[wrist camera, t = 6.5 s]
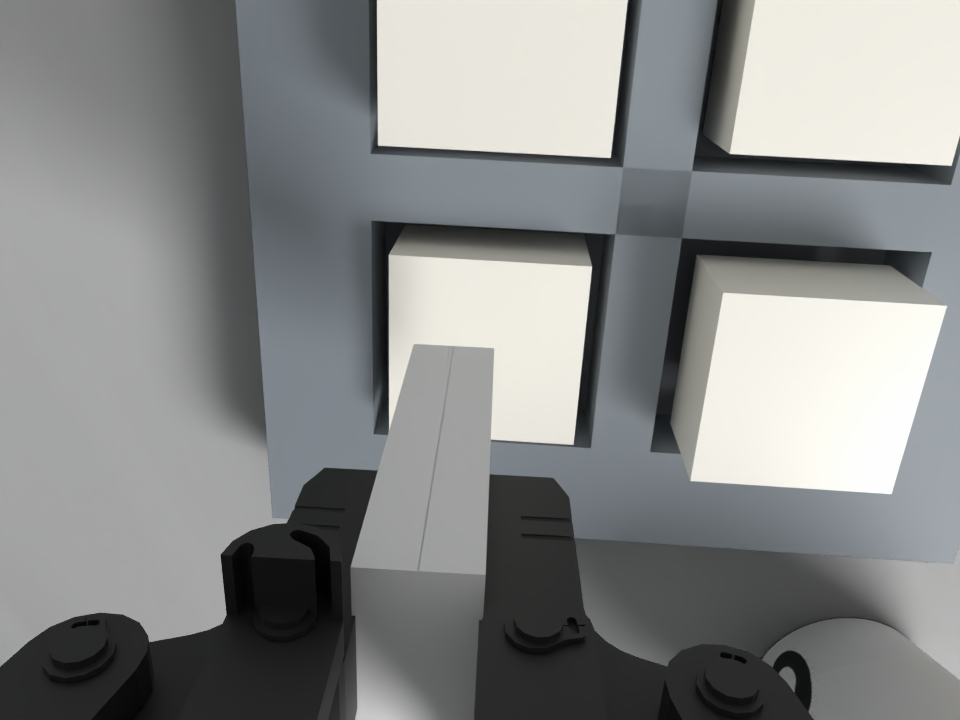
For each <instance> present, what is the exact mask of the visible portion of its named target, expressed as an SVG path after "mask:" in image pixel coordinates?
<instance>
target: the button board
mask: <svg viewBox="0 0 960 720" xmlns="http://www.w3.org/2000/svg"><path fill="white" fill-rule="evenodd" d="M722 3H723V0H628V3H627V12H626V21H625V31H624V40H623V49H622V58H621V68H620V77H619V86H618V96H617V105H616V114H615V123H614V133H613V142H612V151H611V158H600V157H582V156H563V155H544V154H526V153H507V152H488V151H470V150H451V149H432V148H414V147H395V146H378V82H377V0H235V5H236V19H237V32H238V46H239V60H240V74H241V88H242V102H243V116H244V130H245V143H246V157H247V171H248V185H249V199H250V213H251V227H252V240H253V254H254V268H255V282H256V296H257V310H258V324H259V338H260V351H261V365H262V379H263V393H264V407H265V421H266V435H267V449H268V462H269V476H270V490H271V504H272V518H285V519H289V518H290V515H291V513H292V511H293V510H294V508H295V504H296V501H297V499H298V497H299V495H300V492H301V490H302V488H303V485H304V484H305V483H307V482H308V481H309V480H310V479H311V478H313V477H314V476H315V475H316V474H318V473H319V472H320V471H321V470H322V469H324V468H342V469H360V470H378V468H379V465H380V461H381V458H382V454H383V451H384V447H385V444H386V440H387V437H388V433H389V254H390V252H391V250H392V248H393V246H394V245H395V243H396V241H397V239H398V237H399V236H400V234H401V232H402V230H403V228H404V227H405V225H406V224H416V225H433V226H451V227H469V228H486V229H504V230H522V231H539V232H557V233H575V234H584V237H585V241H586V245H587V248H588V252H589V256H590V260H591V264H592V273H591V283H590V292H589V302H588V311H587V321H586V330H585V340H584V350H583V359H582V369H581V378H580V388H579V398H578V407H577V417H576V426H575V436H574V445H568V444H552V443H536V442H521V441H505V440H491V447H490V473H489V474H494V475H513V476H531V477H549V478H554V479H555V480H556V482H557V483H558V484H559V485H560V486H561V488H562V489H563V490H564V491H565V493H566V494H567V495H568V496H569V499H570V507H571V515H572V523H573V530H574V538H580V539H594V540H609V541H624V542H639V543H653V544H668V545H683V546H698V547H712V548H727V549H742V550H756V551H771V552H786V553H801V554H815V555H830V556H845V557H860V558H874V559H889V560H904V561H919V562H933V563H948V564H954V561H955V558H956V555H957V552H958V549H959V546H960V137H959V141H958V144H957V148H956V151H955V155H954V159H953V162H952V166H947V165H928V164H909V163H891V162H872V161H853V160H834V159H815V158H797V157H778V156H759V155H740V154H729V153H728V152H726V151H725V150H724V149H722V148H721V147H719V146H718V145H717V144H715V143H714V142H712V141H711V140H710V139H708V138H707V137H705V136H704V135H703V128H704V122H705V115H706V108H707V102H708V95H709V89H710V82H711V75H712V69H713V62H714V56H715V49H716V42H717V36H718V29H719V23H720V16H721V9H722ZM697 255H715V256H732V257H750V258H767V259H785V260H802V261H820V262H837V263H855V264H873V265H890V266H891V267H893V268H894V269H896V270H897V271H899V272H900V273H901V274H903V275H904V276H906V277H907V278H908V279H910V280H911V281H913V282H914V283H916V284H917V285H918V286H920V287H921V288H923V289H924V290H925V291H927V292H928V293H930V294H931V295H932V296H934V297H935V298H937V299H938V300H940V301H941V302H942V303H944V304H945V305H947V308H946V311H945V315H944V318H943V322H942V325H941V328H940V332H939V335H938V338H937V342H936V345H935V349H934V352H933V355H932V359H931V362H930V365H929V369H928V372H927V376H926V379H925V382H924V386H923V389H922V393H921V396H920V399H919V403H918V406H917V409H916V413H915V416H914V420H913V423H912V426H911V430H910V433H909V436H908V440H907V443H906V447H905V450H904V453H903V457H902V460H901V463H900V467H899V470H898V474H897V477H896V480H895V484H894V487H893V491H892V494H882V493H866V492H851V491H836V490H820V489H805V488H790V487H775V486H759V485H744V484H729V483H714V482H698V481H690V479H689V476H688V473H687V470H686V467H685V464H684V461H683V459H682V456H681V453H680V450H679V447H678V444H677V441H676V438H675V436H674V433H673V430H672V427H671V424H670V420H671V414H672V408H673V401H674V395H675V389H676V382H677V376H678V370H679V363H680V357H681V351H682V344H683V338H684V332H685V325H686V319H687V313H688V306H689V300H690V294H691V287H692V281H693V275H694V268H695V262H696V256H697Z"/></svg>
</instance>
